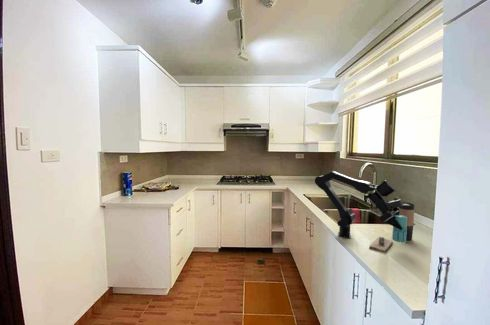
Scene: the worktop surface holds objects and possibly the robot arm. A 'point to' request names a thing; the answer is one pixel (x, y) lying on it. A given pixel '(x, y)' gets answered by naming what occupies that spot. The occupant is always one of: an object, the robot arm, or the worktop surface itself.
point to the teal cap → (400, 234)
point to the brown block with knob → (381, 244)
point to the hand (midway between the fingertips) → (403, 227)
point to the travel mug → (408, 218)
